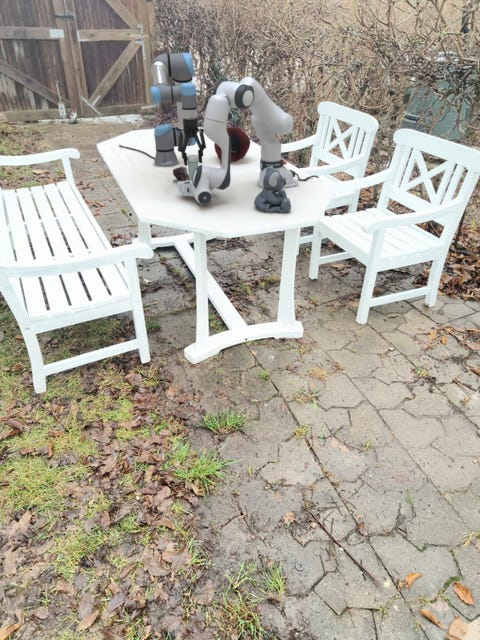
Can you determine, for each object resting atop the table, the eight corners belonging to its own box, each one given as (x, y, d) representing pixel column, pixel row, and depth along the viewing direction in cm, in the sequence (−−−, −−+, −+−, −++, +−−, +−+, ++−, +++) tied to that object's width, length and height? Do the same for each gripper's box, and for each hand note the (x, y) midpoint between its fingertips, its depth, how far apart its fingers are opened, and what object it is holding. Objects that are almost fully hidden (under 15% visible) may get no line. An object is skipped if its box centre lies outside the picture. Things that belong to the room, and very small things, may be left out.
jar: (192, 189, 251) (190, 155, 240) (201, 190, 249) (199, 156, 239) (188, 192, 247) (185, 158, 236) (197, 194, 245) (195, 159, 235)
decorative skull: (211, 133, 303) (210, 130, 280) (245, 125, 303) (247, 122, 279) (218, 165, 310) (218, 165, 287) (251, 158, 309) (254, 157, 286)
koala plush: (292, 213, 220) (294, 173, 209) (255, 214, 219) (256, 174, 208) (286, 201, 234) (288, 162, 223) (252, 202, 233) (252, 164, 222)
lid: (187, 162, 235) (186, 158, 234) (186, 158, 241) (186, 154, 239) (199, 161, 236) (198, 157, 235) (198, 158, 241) (198, 154, 240)
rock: (186, 179, 270) (170, 181, 266) (185, 164, 266) (169, 166, 262) (194, 181, 261) (178, 183, 256) (192, 166, 257) (176, 168, 253)
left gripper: (205, 114, 234) (207, 159, 247) (168, 119, 225) (172, 165, 238) (211, 117, 228) (213, 162, 241) (174, 121, 220) (178, 168, 232)
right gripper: (217, 180, 235) (212, 172, 246) (179, 184, 230) (175, 176, 241) (218, 192, 238) (212, 184, 249) (180, 196, 234) (176, 187, 245)
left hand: (193, 163), depth 239 cm, fingers open, 8 cm apart
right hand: (193, 180), depth 245 cm, fingers closed on jar, 5 cm apart
